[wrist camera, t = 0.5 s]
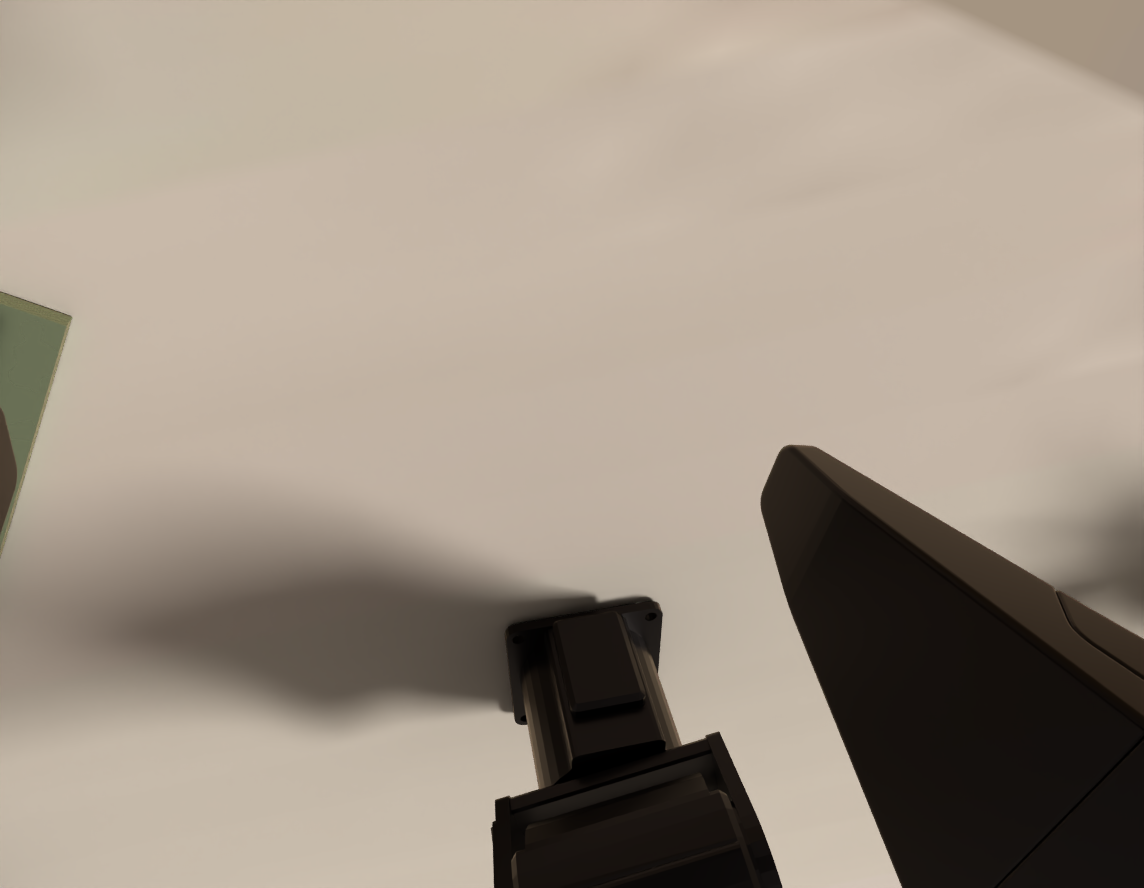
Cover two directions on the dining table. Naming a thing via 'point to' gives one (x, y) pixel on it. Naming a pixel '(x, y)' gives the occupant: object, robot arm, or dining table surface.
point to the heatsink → (26, 376)
